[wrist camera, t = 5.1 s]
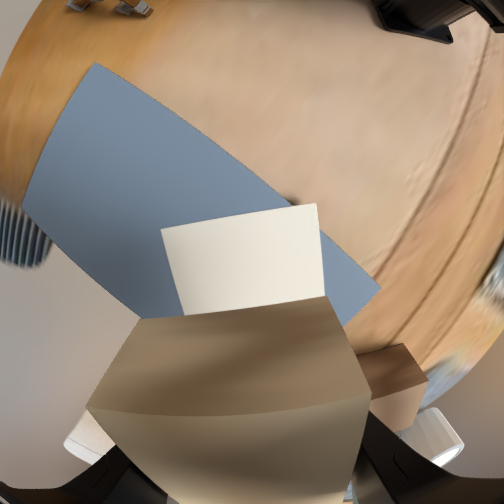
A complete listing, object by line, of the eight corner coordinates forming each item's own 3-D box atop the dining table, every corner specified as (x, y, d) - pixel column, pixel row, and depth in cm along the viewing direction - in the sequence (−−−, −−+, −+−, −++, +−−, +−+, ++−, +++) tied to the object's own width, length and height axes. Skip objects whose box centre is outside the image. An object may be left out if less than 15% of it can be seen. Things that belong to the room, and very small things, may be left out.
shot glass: (425, 433, 25) (443, 469, 18) (386, 442, 24) (401, 484, 18) (451, 399, 22) (475, 437, 16) (411, 408, 22) (434, 454, 16)
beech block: (327, 295, 8) (372, 392, 4) (327, 437, 10) (340, 506, 7) (139, 319, 8) (85, 406, 5) (204, 448, 11) (194, 514, 7)
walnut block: (402, 342, 19) (428, 380, 15) (393, 389, 21) (411, 426, 16) (347, 357, 20) (366, 401, 15) (344, 402, 21) (357, 443, 17)
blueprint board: (25, 215, 16) (17, 218, 15) (111, 54, 13) (103, 49, 12) (264, 396, 21) (265, 406, 20) (394, 280, 17) (400, 286, 16)
